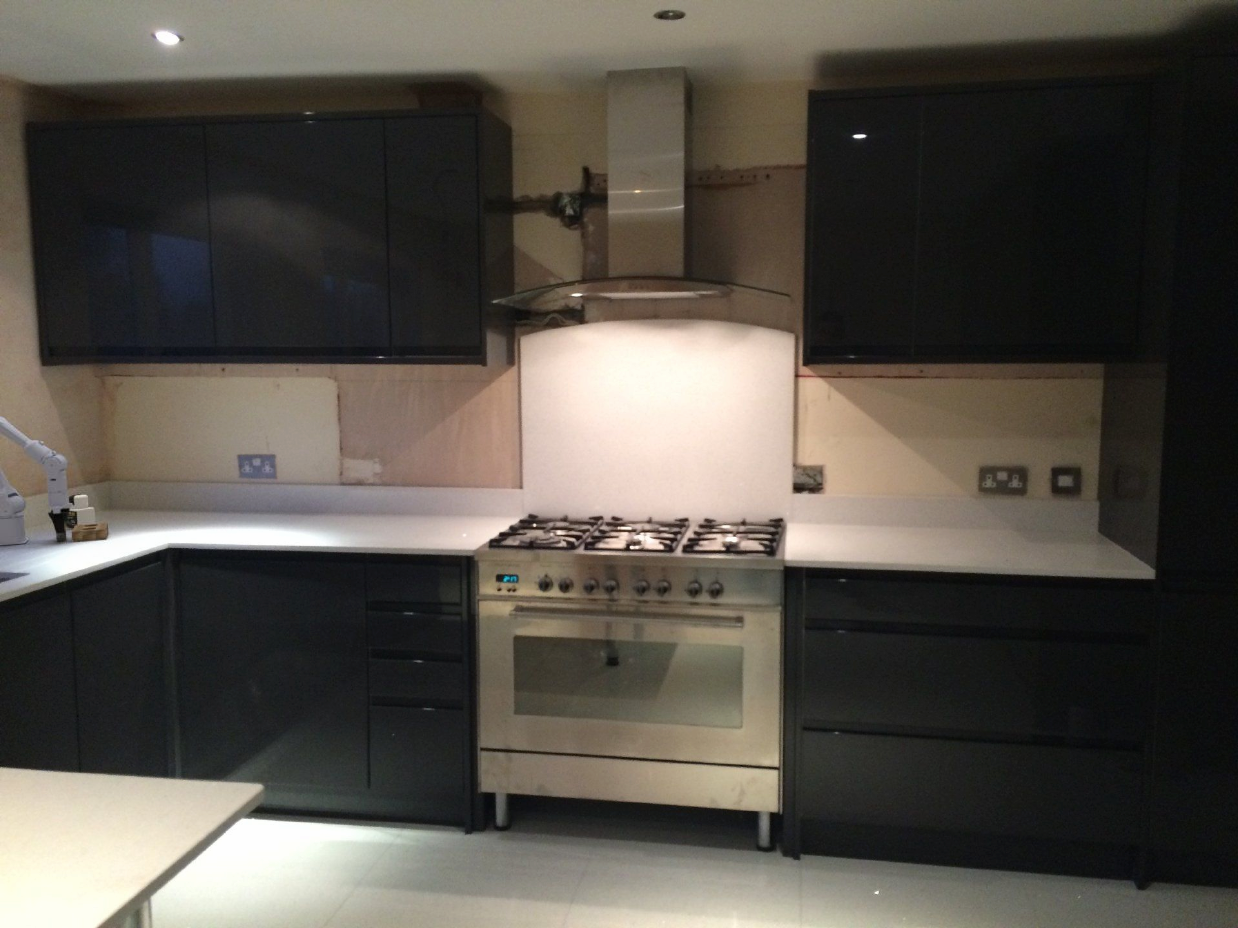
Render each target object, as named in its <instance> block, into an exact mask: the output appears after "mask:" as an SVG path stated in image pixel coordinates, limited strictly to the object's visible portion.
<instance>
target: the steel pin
mask: <svg viewBox="0 0 1238 928" xmlns="http://www.w3.org/2000/svg"><path fill="white" fill-rule="evenodd" d="M55 538H56V542H57V543H62V542H63V541H64V542H67V541H68V540H67V539H68V537H67V529H66V525H65V527H64V533H56V532H55ZM64 542H63V543H64Z"/></svg>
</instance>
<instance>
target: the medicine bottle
mask: <svg viewBox="0 0 1238 928" xmlns="http://www.w3.org/2000/svg"><path fill="white" fill-rule="evenodd" d="M68 503H72V504H73V505H72V506H68V508H70V510H69V513H68V516H67V522H66V530H73V528H74V527H75V525H84V524H97V522H96V514H95V511H96V510H95V507H92V506H91V507H90V506H89V496H88V495H87V494H85V493H84V494H83V493H82V494H80V493H79V494H78V493H77V494H71V495H70V496H68Z"/></svg>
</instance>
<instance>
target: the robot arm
mask: <svg viewBox="0 0 1238 928" xmlns="http://www.w3.org/2000/svg"><path fill="white" fill-rule="evenodd" d="M0 434H1V435H2V436H4V437H6V438H7V439H9V440H10V441H12V442H13V443H15V444H17V445H18V446H20V447H21V448H23V451H24V452H23V453H24V454H25V455H26V456H27V457H29V458H30V459H32V460H33V461H35V462H36V463H38V464H39V465H40V466H41V467H42V470H43V471H44V472H45V473H46V486H47V498H48V505H47V507H48V508H49V509H51V510H50V512H49V511H48V513H47V516H48V517H49V518H50V520H51V522H52V524H53V528H54V531H55V534H56V533H64V527H65V525H66V522H67V516H68V513H69V510H70V508H71V507H69V506H72V505H73V504H72V503H69V494H68V481H67V468H68V466H69V461H68V459H67V458H66V456H64V454H60V453H57V451H55V450H52V449H50V447H47V446H46V445H45V442H44V441H42V440H40V441H39V440H37V439H34V440H32V439H31V438H29V437H27V436H26V435H25V434H24V433H22V431H19V429H17V428H16V427H15V426H14V425H12V424H11V423H10V422H9V421H8V420H7V419H6V418H5V417H3V416H2V415H1V416H0ZM26 507H27V502H26V499H25V498H24V497H23V496H22V495H20V493H19V492H18V491H17V489H16V488H14V487H13V486H11V484H10V482H9V481H8V479H7V477H6V475H5V472H4V471H3V469H2V467H1V466H0V546H8V545H21V544H27V542H28V541H29V540H30V539H29V538H28V537H26V527H25V515H24V512H23V511H24V510H25V509H26Z"/></svg>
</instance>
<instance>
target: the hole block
mask: <svg viewBox="0 0 1238 928" xmlns="http://www.w3.org/2000/svg"><path fill="white" fill-rule="evenodd" d="M108 535H109V522H98V523H96V524H84V525H75V527H74V528H73V529H71V540H72V541H71V543H79V542H80V541H81V542H90V541H103V540H105V541H106V540H107V538H108Z"/></svg>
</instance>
